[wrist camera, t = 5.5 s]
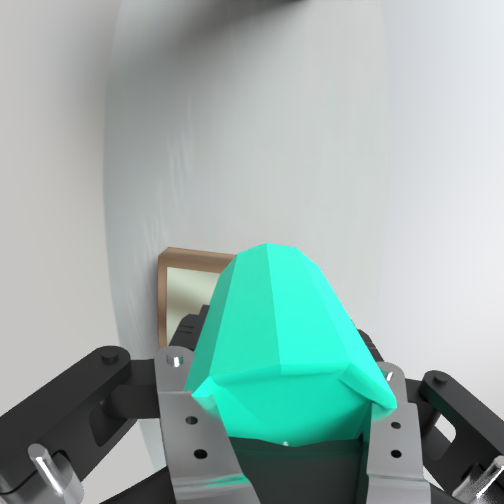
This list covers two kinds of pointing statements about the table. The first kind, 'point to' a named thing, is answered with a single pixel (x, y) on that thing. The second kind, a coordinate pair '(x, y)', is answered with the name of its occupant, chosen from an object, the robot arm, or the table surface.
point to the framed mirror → (185, 285)
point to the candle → (284, 353)
